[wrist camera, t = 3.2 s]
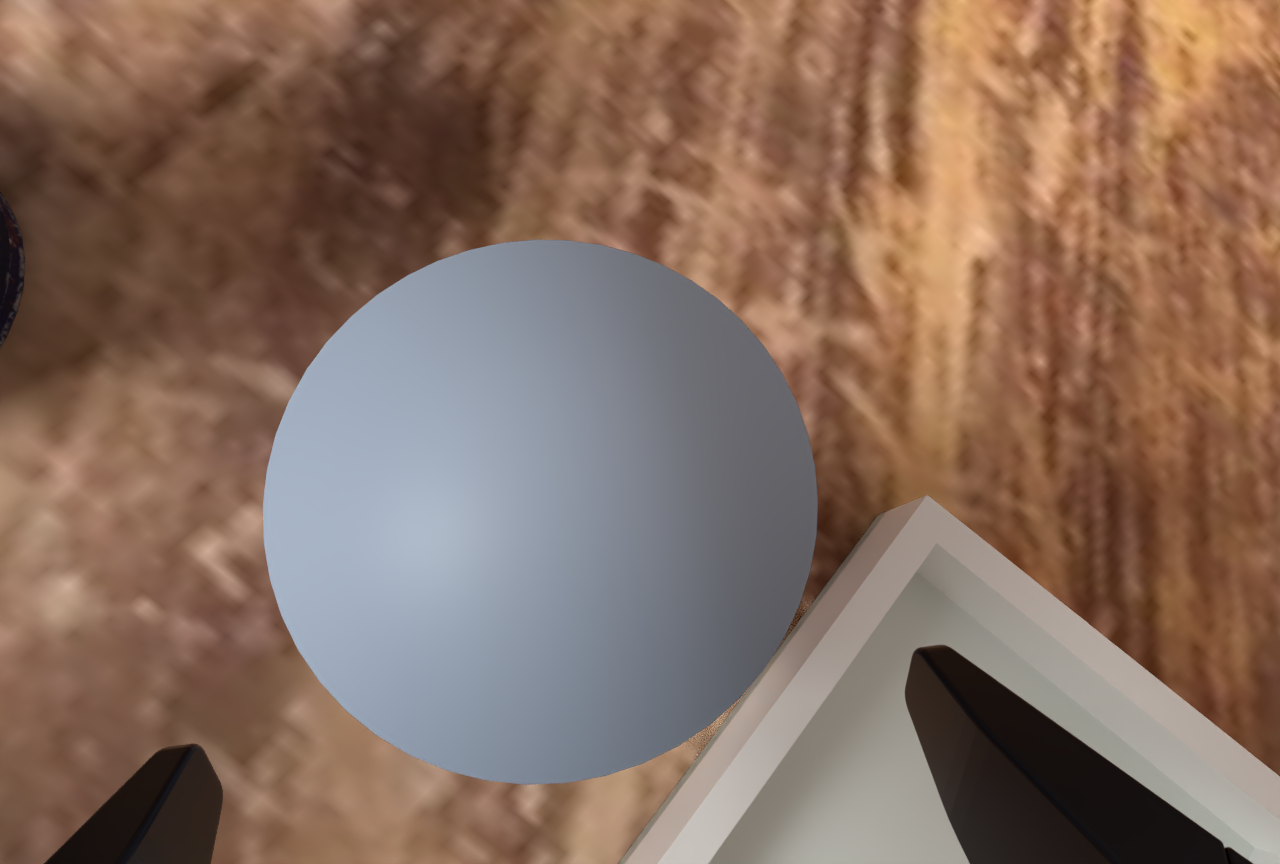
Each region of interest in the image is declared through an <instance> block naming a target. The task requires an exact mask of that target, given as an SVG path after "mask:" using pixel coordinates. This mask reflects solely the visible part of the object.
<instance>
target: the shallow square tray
mask: <svg viewBox="0 0 1280 864" xmlns="http://www.w3.org/2000/svg"><path fill="white" fill-rule="evenodd" d="M932 645H946V646H949V647H951V648H952V649H954V650H955V651H957V652H958V653H959V654H961V655H962V656H964V657H965V658H966V659H968V660H969V661H971V662H972V663H973V664H975V665H976V666H978V667H979V668H980V669H982V670H983V671H985V672H986V673H987V674H989V675H990V676H992V677H993V678H994V679H996V680H997V681H999V682H1000V683H1001V684H1003V685H1004V686H1006V687H1007V688H1008V689H1010V690H1011V691H1013V692H1014V693H1015V694H1017V695H1018V696H1019V697H1021V698H1022V699H1024V700H1025V701H1026V702H1028V703H1029V704H1031V705H1032V706H1033V707H1035V708H1036V709H1038V710H1039V711H1040V712H1042V713H1043V714H1045V715H1046V716H1047V717H1049V718H1050V719H1052V720H1053V721H1054V722H1056V723H1057V724H1059V725H1060V726H1061V727H1063V728H1064V729H1066V730H1067V731H1068V732H1070V733H1071V734H1073V735H1074V736H1075V737H1077V738H1078V739H1080V740H1081V741H1082V742H1084V743H1085V744H1087V745H1088V746H1089V747H1091V748H1092V749H1094V750H1095V751H1096V752H1098V753H1099V754H1100V755H1102V756H1103V757H1105V758H1106V759H1107V760H1109V761H1110V762H1112V763H1113V764H1114V765H1116V766H1117V767H1119V768H1120V769H1121V770H1123V771H1124V772H1126V773H1127V774H1128V775H1130V776H1131V777H1133V778H1134V779H1135V780H1137V781H1138V782H1140V783H1141V784H1142V785H1144V786H1145V787H1147V788H1148V789H1149V790H1151V791H1152V792H1154V793H1155V794H1156V795H1158V796H1159V797H1161V798H1162V799H1163V800H1165V801H1166V802H1168V803H1169V804H1170V805H1172V806H1173V807H1175V808H1176V809H1177V810H1179V811H1180V812H1182V813H1183V814H1184V815H1186V816H1187V817H1188V818H1190V819H1191V820H1193V821H1194V822H1195V823H1197V824H1198V825H1200V826H1201V827H1202V828H1204V829H1205V830H1207V831H1208V832H1209V833H1211V834H1212V835H1214V836H1215V837H1216V838H1218V839H1219V840H1221V841H1222V843H1223V844H1224V847H1230V848H1232V849H1234V850H1235V851H1236V852H1238V853H1239V854H1241V855H1242V856H1243V857H1245V858H1246V859H1248V860H1249V861H1250V862H1252V863H1253V864H1280V776H1278V775H1277V774H1276V773H1275V772H1273V771H1272V770H1271V769H1270V768H1268V767H1267V766H1266V765H1265V764H1263V763H1262V762H1261V761H1260V760H1258V759H1257V758H1256V757H1255V756H1253V755H1252V754H1251V753H1250V752H1248V751H1247V750H1246V749H1245V748H1243V747H1242V746H1241V745H1240V744H1238V743H1237V742H1236V741H1235V740H1233V739H1232V738H1231V737H1230V736H1228V735H1227V734H1226V733H1225V732H1223V731H1222V730H1221V729H1220V728H1218V727H1217V726H1216V725H1215V724H1213V723H1212V722H1211V721H1210V720H1208V719H1207V718H1206V717H1205V716H1203V715H1202V714H1201V713H1200V712H1198V711H1197V710H1196V709H1195V708H1193V707H1192V706H1191V705H1190V704H1188V703H1187V702H1186V701H1185V700H1183V699H1182V698H1181V697H1180V696H1178V695H1177V694H1176V693H1175V692H1173V691H1172V690H1171V689H1170V688H1168V687H1167V686H1166V685H1165V684H1163V683H1162V682H1161V681H1160V680H1158V679H1157V678H1156V677H1155V676H1153V675H1152V674H1151V673H1150V672H1148V671H1147V670H1146V669H1145V668H1143V667H1142V666H1141V665H1140V664H1138V663H1137V662H1136V661H1135V660H1133V659H1132V658H1131V657H1130V656H1128V655H1127V654H1126V653H1125V652H1123V651H1122V650H1121V649H1120V648H1118V647H1117V646H1116V645H1115V644H1113V643H1112V642H1111V641H1110V640H1108V639H1107V638H1106V637H1105V636H1103V635H1102V634H1101V633H1100V632H1098V631H1097V630H1096V629H1095V628H1093V627H1092V626H1091V625H1090V624H1088V623H1087V622H1086V621H1085V620H1083V619H1082V618H1081V617H1080V616H1078V615H1077V614H1076V613H1075V612H1073V611H1072V610H1071V609H1070V608H1068V607H1067V606H1066V605H1065V604H1063V603H1062V602H1061V601H1060V600H1058V599H1057V598H1056V597H1055V596H1053V595H1052V594H1051V593H1050V592H1048V591H1047V590H1046V589H1045V588H1043V587H1042V586H1041V585H1040V584H1038V583H1037V582H1036V581H1035V580H1033V579H1032V578H1031V577H1030V576H1028V575H1027V574H1026V573H1025V572H1023V571H1022V570H1021V569H1020V568H1018V567H1017V566H1016V565H1015V564H1013V563H1012V562H1011V561H1010V560H1008V559H1007V558H1006V557H1005V556H1003V555H1002V554H1001V553H1000V552H998V551H997V550H996V549H995V548H993V547H992V546H991V545H990V544H988V543H987V542H986V541H985V540H983V539H982V538H981V537H980V536H978V535H977V534H976V533H975V532H973V531H972V530H971V529H970V528H968V527H967V526H966V525H965V524H963V523H962V522H961V521H960V520H958V519H957V518H956V517H955V516H953V515H952V514H951V513H950V512H948V511H947V510H946V509H945V508H943V507H942V506H941V505H940V504H938V503H937V502H936V501H935V500H933V499H932V498H931V497H930V496H928V495H926V496H923V497H921V498H918V499H916V500H913V501H911V502H908V503H906V504H903V505H901V506H898V507H896V508H893V509H891V510H888V511H886V512H884V513H881V514H879V515H878V516H877V517H876V518H875V520H874V521H873V523H872V524H871V525H870V527H869V528H868V529H867V531H866V532H865V533H864V535H863V536H862V537H861V539H860V540H859V541H858V543H857V544H856V545H855V547H854V548H853V549H852V551H851V552H850V553H849V555H848V556H847V557H846V559H845V560H844V561H843V563H842V564H841V565H840V567H839V568H838V569H837V571H836V572H835V573H834V575H833V576H832V577H831V579H830V580H829V581H828V583H827V584H826V585H825V587H824V588H823V590H822V591H821V592H820V594H819V595H818V596H817V598H816V599H815V600H814V602H813V603H812V604H811V606H810V607H809V608H808V610H807V611H806V612H805V614H804V615H803V616H802V618H801V619H800V620H799V622H798V623H797V624H796V626H795V627H794V628H793V630H792V631H791V632H790V634H789V635H788V636H787V638H786V639H785V640H784V642H783V643H782V644H781V646H780V647H779V648H778V650H777V651H776V652H775V654H774V655H773V657H772V658H771V659H770V661H769V662H768V664H767V665H766V667H765V668H764V670H763V671H762V672H761V673H760V675H759V676H758V677H757V678H756V679H755V681H754V682H753V683H752V685H751V686H750V687H749V689H748V690H747V691H746V693H745V694H744V695H743V697H742V698H741V699H740V701H739V702H738V703H737V705H736V706H735V707H734V709H733V710H732V711H731V713H730V714H729V715H728V717H727V718H726V719H725V721H724V722H723V724H722V725H721V726H720V728H719V729H718V730H717V732H716V733H715V734H714V736H713V737H712V738H711V740H710V741H709V742H708V744H707V745H706V746H705V748H704V749H703V750H702V752H701V753H700V754H699V756H698V757H697V758H696V760H695V761H694V762H693V764H692V765H691V766H690V768H689V769H688V770H687V772H686V773H685V774H684V776H683V777H682V778H681V780H680V781H679V782H678V784H677V785H676V786H675V788H674V789H673V791H672V792H671V793H670V795H669V796H668V797H667V799H666V800H665V801H664V803H663V804H662V805H661V807H660V808H659V809H658V811H657V812H656V813H655V815H654V816H653V817H652V819H651V820H650V821H649V823H648V824H647V825H646V827H645V828H644V829H643V831H642V832H641V833H640V835H639V836H638V837H637V839H636V840H635V841H634V843H633V844H632V845H631V847H630V848H629V849H628V851H627V852H626V853H625V855H624V856H623V858H622V859H621V860H620V862H619V863H618V864H970V863H969V861H968V859H967V857H966V855H965V853H964V851H963V849H962V847H961V845H960V843H959V841H958V839H957V837H956V834H955V832H954V830H953V828H952V826H951V823H950V821H949V819H948V816H947V814H946V811H945V809H944V806H943V804H942V801H941V799H940V796H939V793H938V790H937V788H936V785H935V782H934V779H933V777H932V774H931V771H930V769H929V766H928V763H927V760H926V758H925V755H924V752H923V750H922V747H921V744H920V741H919V739H918V736H917V733H916V730H915V728H914V725H913V722H912V720H911V717H910V714H909V711H908V709H907V705H906V701H905V685H906V681H907V676H908V672H909V667H910V663H911V658H912V655H913V652H914V651H915V650H916V649H917V648H919V647H925V646H932Z"/></svg>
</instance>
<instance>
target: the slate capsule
mask: <svg viewBox="0 0 1280 864" xmlns="http://www.w3.org/2000/svg"><path fill="white" fill-rule="evenodd" d="M817 512H818V496H817V484H816V472H815V464H814V460H813V455H812V451H811V446H810V441H809V437H808V433H807V430H806V427H805V424H804V422H803V419H802V416H801V413H800V410H799V407H798V405H797V402H796V400H795V398H794V396H793V394H792V392H791V390H790V388H789V386H788V384H787V382H786V380H785V378H784V376H783V374H782V372H781V371H780V369H779V368H778V366H777V365H776V363H775V362H774V360H773V359H772V357H771V356H770V354H769V353H768V352H767V350H766V349H765V347H764V346H763V344H762V343H761V342H760V341H759V340H758V339H757V337H756V336H755V335H754V334H753V333H752V332H751V331H750V329H749V328H748V327H747V326H746V325H745V324H744V323H743V321H742V320H741V319H739V318H738V317H737V316H736V315H735V314H734V313H733V312H732V311H731V310H729V309H728V308H727V307H726V306H725V305H724V304H723V303H722V302H721V301H719V300H718V299H717V298H716V297H714V296H713V295H711V294H710V293H709V292H707V291H706V290H704V289H703V288H701V287H700V286H699V285H697V284H696V283H694V282H693V281H691V280H690V279H688V278H686V277H684V276H682V275H680V274H678V273H677V272H675V271H673V270H671V269H669V268H667V267H665V266H663V265H661V264H659V263H656V262H654V261H651V260H649V259H646V258H643V257H641V256H638V255H636V254H633V253H630V252H626V251H622V250H618V249H614V248H611V247H607V246H603V245H598V244H591V243H583V242H576V241H569V240H527V241H517V242H507V243H499V244H495V245H490V246H486V247H481V248H476V249H472V250H468V251H465V252H462V253H459V254H456V255H453V256H451V257H448V258H445V259H442V260H439V261H436V262H434V263H432V264H430V265H428V266H426V267H424V268H422V269H420V270H418V271H416V272H414V273H412V274H410V275H407V276H406V277H404V278H403V279H401V280H399V281H398V282H396V283H395V284H393V285H392V286H390V287H389V288H387V289H385V290H384V291H382V292H381V293H379V294H378V295H376V296H375V297H374V298H373V299H372V300H370V301H369V302H368V303H367V304H366V305H364V306H363V307H362V308H361V309H359V310H358V311H357V312H356V313H355V314H353V315H352V316H351V317H350V318H349V319H348V320H347V321H346V322H345V323H344V324H343V326H342V327H341V328H340V329H339V330H338V331H337V332H336V333H335V334H334V335H333V336H332V337H331V338H330V339H329V340H328V341H327V343H326V344H325V345H324V347H323V348H322V349H321V351H320V352H319V354H318V355H317V356H316V358H315V359H314V360H313V362H312V363H311V364H310V366H309V367H308V368H307V370H306V372H305V373H304V375H303V377H302V379H301V381H300V382H299V384H298V386H297V388H296V390H295V391H294V393H293V395H292V397H291V399H290V400H289V403H288V405H287V408H286V410H285V413H284V415H283V418H282V420H281V423H280V425H279V428H278V430H277V433H276V436H275V440H274V444H273V448H272V452H271V456H270V460H269V464H268V468H267V474H266V483H265V492H264V501H263V527H264V546H265V552H266V558H267V564H268V570H269V576H270V581H271V584H272V587H273V591H274V594H275V597H276V600H277V603H278V606H279V609H280V613H281V616H282V618H283V620H284V622H285V624H286V626H287V628H288V630H289V632H290V634H291V636H292V638H293V640H294V643H295V645H296V647H297V649H298V651H299V652H300V654H301V655H302V656H303V658H304V659H305V661H306V662H307V664H308V665H309V667H310V668H311V670H312V671H313V673H314V674H315V676H316V677H317V679H318V680H319V682H320V683H321V684H322V685H323V686H324V687H325V688H326V689H327V690H328V691H329V693H330V694H331V695H332V696H333V697H334V698H335V699H336V700H337V701H338V702H339V703H340V705H341V706H342V707H343V708H344V709H345V710H346V711H347V712H348V713H350V714H351V715H352V716H353V717H355V718H356V719H357V720H358V721H360V722H361V723H362V724H363V725H364V726H366V727H367V728H368V729H369V730H371V731H372V732H373V733H374V734H375V735H377V736H379V737H380V738H382V739H384V740H385V741H387V742H389V743H390V744H392V745H394V746H395V747H397V748H399V749H400V750H402V751H404V752H405V753H407V754H409V755H411V756H413V757H415V758H418V759H420V760H423V761H425V762H427V763H430V764H432V765H435V766H437V767H440V768H442V769H444V770H447V771H451V772H455V773H459V774H463V775H466V776H470V777H474V778H478V779H482V780H487V781H497V782H506V783H516V784H525V785H526V784H552V783H568V782H574V781H579V780H585V779H590V778H596V777H602V776H606V775H609V774H612V773H615V772H618V771H621V770H624V769H627V768H630V767H633V766H636V765H640V764H642V763H645V762H647V761H649V760H651V759H653V758H655V757H657V756H659V755H661V754H663V753H665V752H667V751H669V750H671V749H673V748H675V747H677V746H679V745H680V744H682V743H683V742H685V741H686V740H688V739H689V738H691V737H692V736H694V735H695V734H697V733H698V732H700V731H701V730H703V729H704V728H706V727H707V726H709V725H710V724H711V723H712V722H713V721H715V720H716V719H717V718H718V717H719V716H720V715H721V714H722V713H723V712H725V711H726V710H727V709H728V708H729V707H730V706H731V705H732V704H734V703H735V702H736V701H737V700H738V699H739V698H740V697H741V696H742V694H743V693H744V692H745V691H746V690H747V689H748V687H749V686H750V685H751V684H752V683H753V682H754V680H755V679H756V678H757V677H758V676H759V675H760V673H761V672H762V671H763V670H764V668H765V667H766V665H767V664H768V662H769V661H770V659H771V657H772V656H773V654H774V653H775V651H776V650H777V648H778V647H779V645H780V644H781V642H782V640H783V639H784V637H785V635H786V633H787V630H788V628H789V626H790V624H791V622H792V620H793V618H794V616H795V614H796V611H797V609H798V607H799V605H800V602H801V598H802V595H803V592H804V589H805V586H806V583H807V580H808V576H809V573H810V569H811V564H812V558H813V552H814V547H815V541H816V534H817Z"/></svg>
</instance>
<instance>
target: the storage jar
mask: <svg viewBox="0 0 1280 864" xmlns="http://www.w3.org/2000/svg"><path fill="white" fill-rule="evenodd" d="M24 268H25V258H24V250H23V242H22V236H21V233H20V230H19V228H18V225H17V222H16V219H15V216H14V214H13V212H12V210H11V209H10V207H9V205H8V204H7V202H6V200H5V199H4V197H3V195H2V194H1V193H0V346H1V345H2V343H3V341H4V340H5V338H6V336H7V334H8V332H9V329H10V327H11V325H12V322H13V320H14V318H15V315H16V313H17V310H18V306H19V302H20V298H21V294H22V290H23V285H24Z"/></svg>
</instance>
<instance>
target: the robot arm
mask: <svg viewBox="0 0 1280 864" xmlns="http://www.w3.org/2000/svg"><path fill="white" fill-rule="evenodd" d="M905 701H906V705H907V709H908V711H909V714H910V717H911V720H912V722H913V725H914V728H915V730H916V733H917V736H918V739H919V741H920V744H921V747H922V750H923V752H924V755H925V758H926V760H927V763H928V766H929V769H930V771H931V774H932V777H933V779H934V782H935V785H936V788H937V790H938V793H939V796H940V799H941V801H942V804H943V806H944V809H945V811H946V814H947V816H948V819H949V821H950V823H951V826H952V828H953V830H954V832H955V834H956V837H957V839H958V841H959V843H960V845H961V847H962V849H963V851H964V853H965V855H966V857H967V859H968V861H969V863H970V864H1253V863H1252V862H1250V861H1249V860H1248V859H1246V858H1245V857H1243V856H1242V855H1241V854H1239V853H1238V852H1236V851H1235V850H1234V849H1232V848H1230V847H1224V844H1223V843H1222V841H1221V840H1219V839H1218V838H1216V837H1215V836H1214V835H1212V834H1211V833H1209V832H1208V831H1207V830H1205V829H1204V828H1202V827H1201V826H1200V825H1198V824H1197V823H1195V822H1194V821H1193V820H1191V819H1190V818H1188V817H1187V816H1186V815H1184V814H1183V813H1182V812H1180V811H1179V810H1177V809H1176V808H1175V807H1173V806H1172V805H1170V804H1169V803H1168V802H1166V801H1165V800H1163V799H1162V798H1161V797H1159V796H1158V795H1156V794H1155V793H1154V792H1152V791H1151V790H1149V789H1148V788H1147V787H1145V786H1144V785H1142V784H1141V783H1140V782H1138V781H1137V780H1135V779H1134V778H1133V777H1131V776H1130V775H1128V774H1127V773H1126V772H1124V771H1123V770H1121V769H1120V768H1119V767H1117V766H1116V765H1114V764H1113V763H1112V762H1110V761H1109V760H1107V759H1106V758H1105V757H1103V756H1102V755H1100V754H1099V753H1098V752H1096V751H1095V750H1094V749H1092V748H1091V747H1089V746H1088V745H1087V744H1085V743H1084V742H1082V741H1081V740H1080V739H1078V738H1077V737H1075V736H1074V735H1073V734H1071V733H1070V732H1068V731H1067V730H1066V729H1064V728H1063V727H1061V726H1060V725H1059V724H1057V723H1056V722H1054V721H1053V720H1052V719H1050V718H1049V717H1047V716H1046V715H1045V714H1043V713H1042V712H1040V711H1039V710H1038V709H1036V708H1035V707H1033V706H1032V705H1031V704H1029V703H1028V702H1026V701H1025V700H1024V699H1022V698H1021V697H1019V696H1018V695H1017V694H1015V693H1014V692H1013V691H1011V690H1010V689H1008V688H1007V687H1006V686H1004V685H1003V684H1001V683H1000V682H999V681H997V680H996V679H994V678H993V677H992V676H990V675H989V674H987V673H986V672H985V671H983V670H982V669H980V668H979V667H978V666H976V665H975V664H973V663H972V662H971V661H969V660H968V659H966V658H965V657H964V656H962V655H961V654H959V653H958V652H957V651H955V650H954V649H952V648H951V647H949V646H946V645H932V646H925V647H919V648H917V649H916V650H915V651H914V652H913V655H912V658H911V663H910V667H909V672H908V676H907V681H906V685H905ZM222 803H223V790H222V786H221V783H220V780H219V779H218V777H217V775H216V773H215V771H214V769H213V767H212V765H211V763H210V761H209V759H208V757H207V755H206V753H205V751H204V750H203V748H202V747H201V746H199V745H197V744H187V745H179V746H172V747H166V748H163V749H161V750H159V751H158V752H156V753H155V754H154V755H153V756H152V757H151V758H150V759H149V760H148V761H147V762H146V763H145V764H144V765H143V766H142V767H141V768H140V769H139V770H138V771H137V772H136V773H135V774H134V775H133V776H132V777H131V778H130V779H129V780H128V781H127V782H126V783H125V784H124V785H123V786H122V787H121V788H120V789H119V790H118V791H117V792H116V793H115V794H114V795H112V796H111V797H110V798H109V799H108V800H107V801H106V802H105V803H104V804H103V805H102V806H101V807H100V808H99V809H98V810H97V811H96V812H95V813H94V814H93V815H92V816H91V817H90V818H89V819H88V820H87V821H86V822H85V823H84V824H83V825H82V826H81V827H80V828H79V829H78V830H77V831H76V832H75V833H74V834H73V835H72V836H71V837H70V838H69V839H68V840H67V841H66V842H65V843H64V844H63V845H62V846H61V847H60V848H59V849H58V850H57V851H56V852H55V853H54V854H53V855H52V856H51V857H50V858H49V859H48V860H47V861H46V862H45V863H44V864H211V859H212V854H213V849H214V844H215V839H216V834H217V829H218V824H219V819H220V814H221V809H222Z"/></svg>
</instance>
